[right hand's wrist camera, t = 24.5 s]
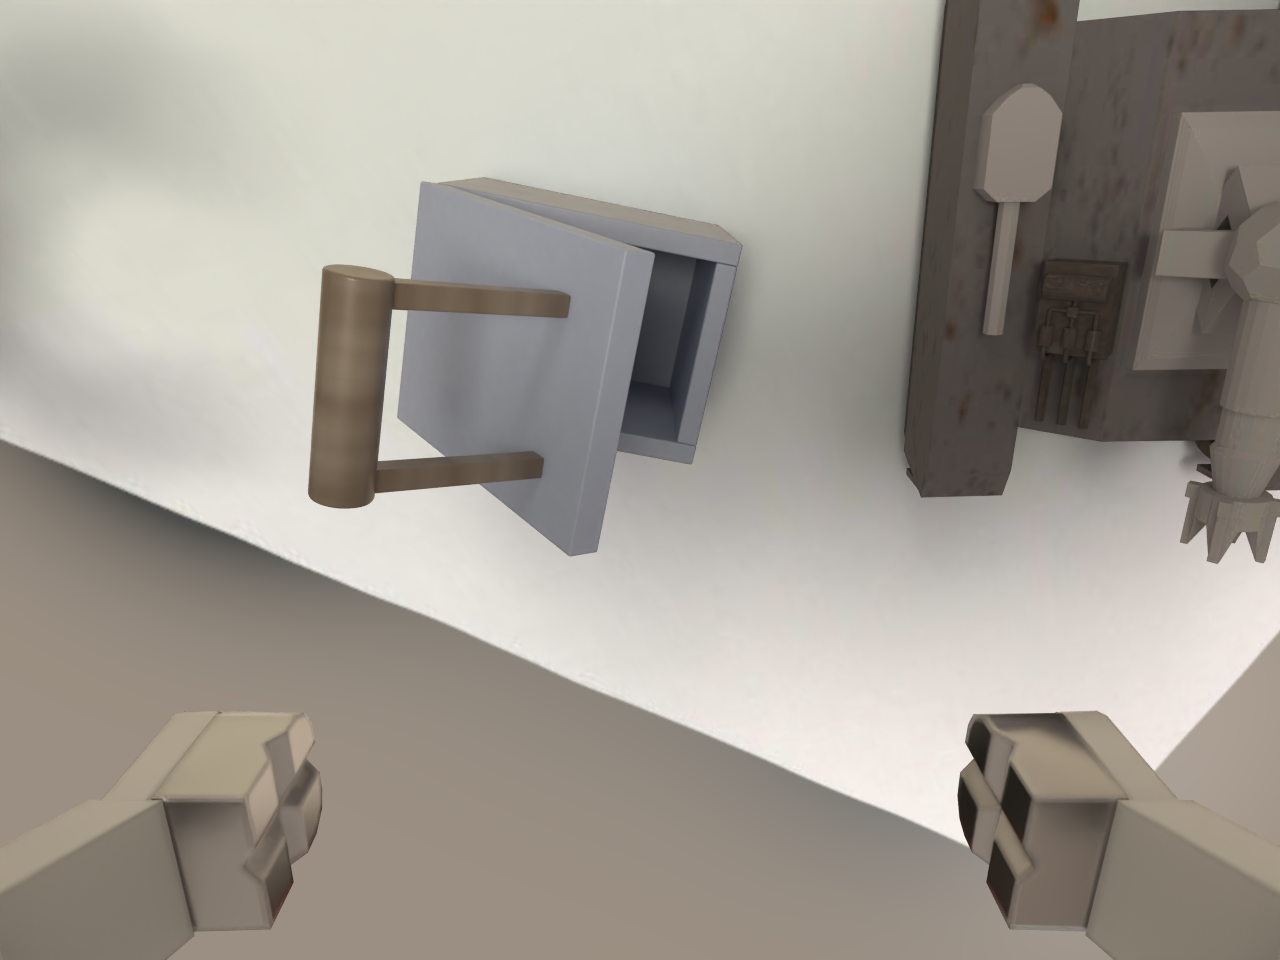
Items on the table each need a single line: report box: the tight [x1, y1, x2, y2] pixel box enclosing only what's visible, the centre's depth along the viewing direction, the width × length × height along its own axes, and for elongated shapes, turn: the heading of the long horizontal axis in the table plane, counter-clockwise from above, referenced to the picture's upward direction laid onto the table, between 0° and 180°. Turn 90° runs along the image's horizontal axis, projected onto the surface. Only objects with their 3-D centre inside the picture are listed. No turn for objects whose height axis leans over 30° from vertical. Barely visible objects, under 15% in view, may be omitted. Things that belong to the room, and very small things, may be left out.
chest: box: [438, 178, 742, 464], centre depth 40 cm, size 12×9×10 cm
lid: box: [308, 181, 655, 556], centre depth 28 cm, size 13×9×8 cm
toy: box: [904, 0, 1280, 564], centre depth 37 cm, size 25×20×15 cm
